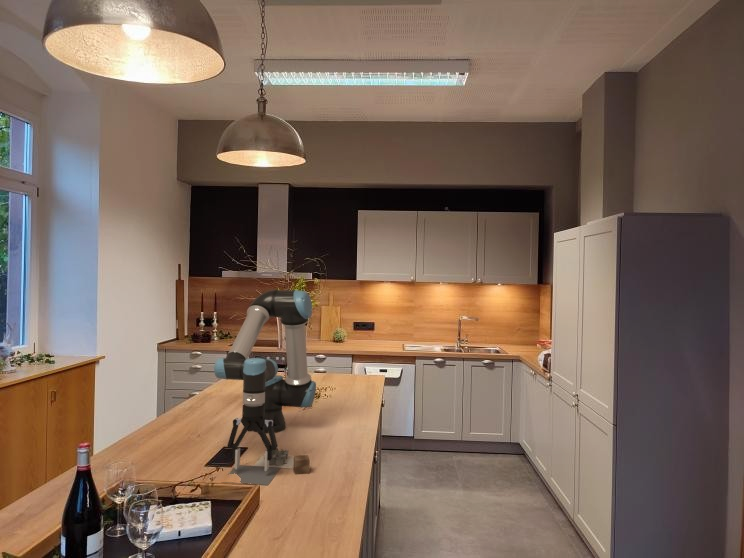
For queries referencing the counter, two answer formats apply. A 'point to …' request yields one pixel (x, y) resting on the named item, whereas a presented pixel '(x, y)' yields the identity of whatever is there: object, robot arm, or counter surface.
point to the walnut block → (301, 464)
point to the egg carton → (278, 457)
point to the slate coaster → (255, 474)
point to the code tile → (287, 464)
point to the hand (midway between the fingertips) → (251, 468)
